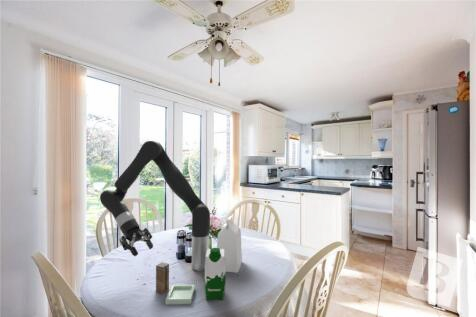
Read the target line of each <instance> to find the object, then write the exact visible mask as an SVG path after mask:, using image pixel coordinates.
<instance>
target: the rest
mask: <svg viewBox="0 0 476 317" xmlns="http://www.w3.org/2000/svg"><path fill="white" fill-rule="evenodd" d="M195 290H196V284H171V287H170V288H169V290H168V293H167V296H166V298H165V305H191V304H192V302H193V297H194V294H195Z"/></svg>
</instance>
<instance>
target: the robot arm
mask: <svg viewBox="0 0 476 317" xmlns="http://www.w3.org/2000/svg"><path fill="white" fill-rule="evenodd" d="M152 161H153V162H154V164H156V165H157V167H158V168H159V170H160V172H161V174H162V177H163V179H164V181H165V183H166V184H167V186H168V187H169V188H170V190H171V191H172V192H173V193H174V194H175V195H176V196H177V197H178V199H180V200H182V201H183V203H184V204H185V205H186V206H187V208H188V210H189V211H190V212H191V226H192V227H191V269H192V270H194V271H197V272H198V271H201V272H202V271H205V257H206V252H207V250H208V249H211V248H210V229H211V212H210V209H209V208H208V206H207V205H206V204H205V203H204V202H203V201H202V200H201V198H200V197H198V195H197V194H196V193H195V191H194V189H193V187H192V185H191V184H190V183H189V181H188V179H187V178H186V176H185V175H184V174H183V173H182V172H181V170H180V169H179V168H178V167H177V165H176V164H174V162H173V161H172V160H171V159H170V157H169V156H168V154H167V152H166V150H165V148H164V146H163V145H162V144H161V143H160V142H159V141H157V140H147V141H145V142H144V143H143V144H141V147H140V149H139V151H138V152H137V153H136V156H135V157H134V158H133V160H132V161H131V163H130V164H128V167H127V168H126V169H125V170H124V171H123V172H122V174H120V176H119V177H118V178H117V179H116V180H115V182H114V187H115V188H116V189H115V190H114V189H113V190H111V189H106V190H103V191H102V192H100V196H99V201H100V204H101V205H102V206H104V208H106V210H107V211H108V212H110V213H111V215H112V217H113V219H115V221H116V225H117V226H118V228H119V230H120V231H121V233H122V235H121V237H120V238H119V242H120V244H121V247H122V248H123V250H124V251H127V250H128V251H129V252H130V253H131V256H134V257H137V256H138V255H139V251H138V250H137V249H136V247H135V245H134V244H135V243H137V242H140V241H141V242H144V243H145V244H146V246H147V248H148V249H149V250H152V249H153V248H154V244H153V242H152V241H151V240H152V238H153V235H152V234H151V232H150V231H149V229H148V228H147V227H145V228H144V229H141V228H140V224H139V223H138V222H137V220H136V218H135V216H134V215H133V214H132V213H131V211H130V209H129V208H128V206H127V205H126V204H125V203H123V202H122V201H123V200H124V199H125V197H126V194H127V193H128V190H129V189H130V188H131V187H132V185H133V184H134V183H135V182H136V180H137V179H138V178H139V176H140V174H141V172H142V171H143V170H144V168H145V167H146V166H147V165H148V164H150V162H152Z"/></svg>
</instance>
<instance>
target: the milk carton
mask: <svg viewBox="0 0 476 317" xmlns="http://www.w3.org/2000/svg"><path fill="white" fill-rule="evenodd" d="M225 260H226V256H225V249H219V248H217V247H212V248H210V249H208V250H207V252H206V257H205V270H204V292H205V300H206V301H214V300H215V301H219V300H220V301H223V300H224V294H225V289H226V279H227V278H226V277H227V276H226V273H227V272H226V261H225Z"/></svg>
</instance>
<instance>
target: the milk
mask: <svg viewBox="0 0 476 317" xmlns="http://www.w3.org/2000/svg"><path fill="white" fill-rule="evenodd" d="M216 239H217V242H216V248H219V249H225V256H226V260H225V261H226V273H229V272H230V273H236V274H237V273H239V271H240V268H241V266H242V264H243V256H242V255H243V253H242V251H243V250H242V232H241V227H239V226H238V225H237V224H236V223H235V222H234V221H233V216H229V217H228V218H227V220H226V223H224V224H223V225H222V226H221V230H220V231H218V234H217V238H216Z"/></svg>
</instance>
